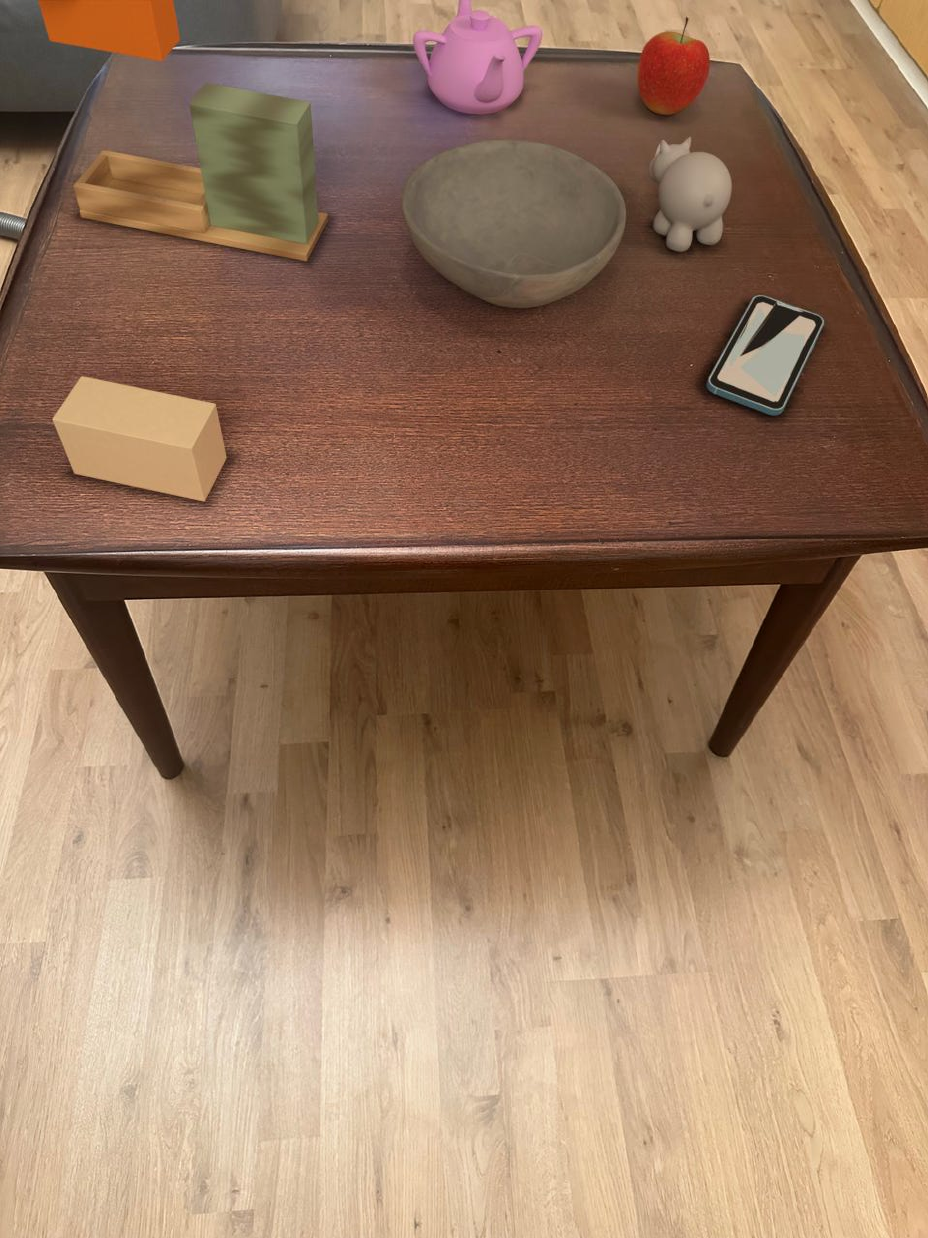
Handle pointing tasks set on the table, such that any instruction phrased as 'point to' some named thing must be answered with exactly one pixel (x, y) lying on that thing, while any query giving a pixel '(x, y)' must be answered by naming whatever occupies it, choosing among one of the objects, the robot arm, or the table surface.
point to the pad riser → (141, 438)
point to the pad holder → (221, 178)
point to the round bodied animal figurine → (689, 194)
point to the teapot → (476, 61)
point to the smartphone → (765, 355)
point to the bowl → (514, 220)
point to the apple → (672, 71)
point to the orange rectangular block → (114, 25)
